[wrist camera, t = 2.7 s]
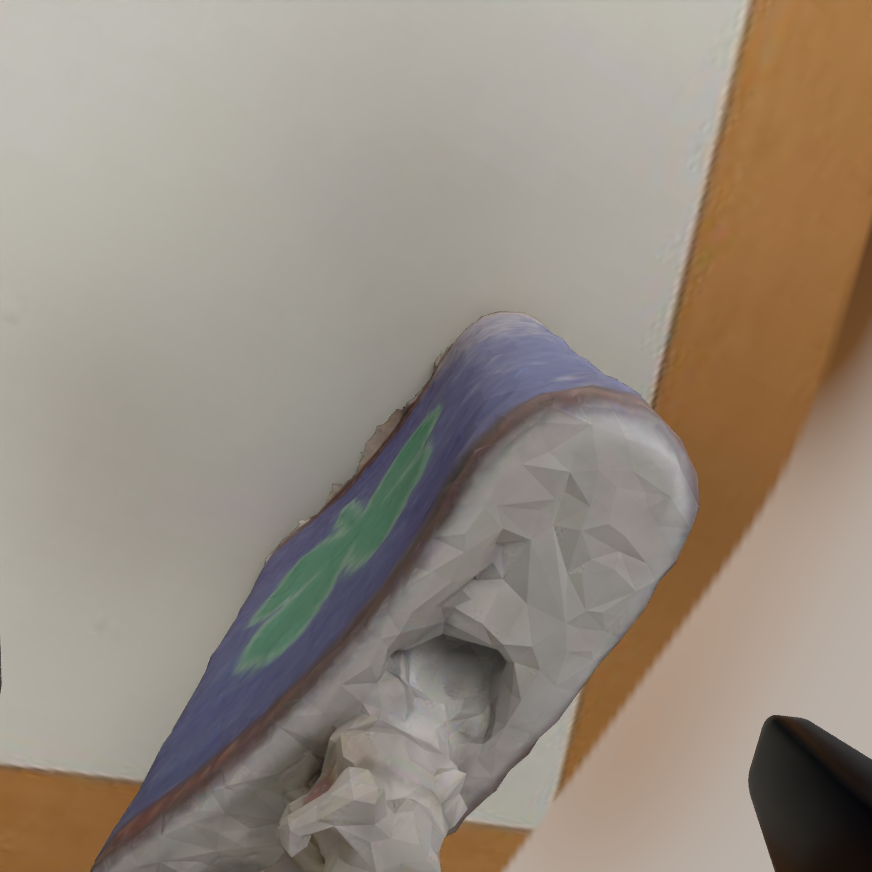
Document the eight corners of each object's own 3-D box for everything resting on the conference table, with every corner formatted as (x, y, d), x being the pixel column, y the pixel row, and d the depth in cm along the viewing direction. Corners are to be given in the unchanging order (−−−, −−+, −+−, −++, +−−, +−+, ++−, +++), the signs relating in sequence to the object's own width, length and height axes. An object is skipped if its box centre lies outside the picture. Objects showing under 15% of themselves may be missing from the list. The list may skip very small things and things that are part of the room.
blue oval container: (497, 284, 15) (643, 378, 4) (596, 374, 15) (933, 643, 5) (234, 584, 17) (-92, 1142, 6) (331, 656, 17) (176, 1278, 7)
